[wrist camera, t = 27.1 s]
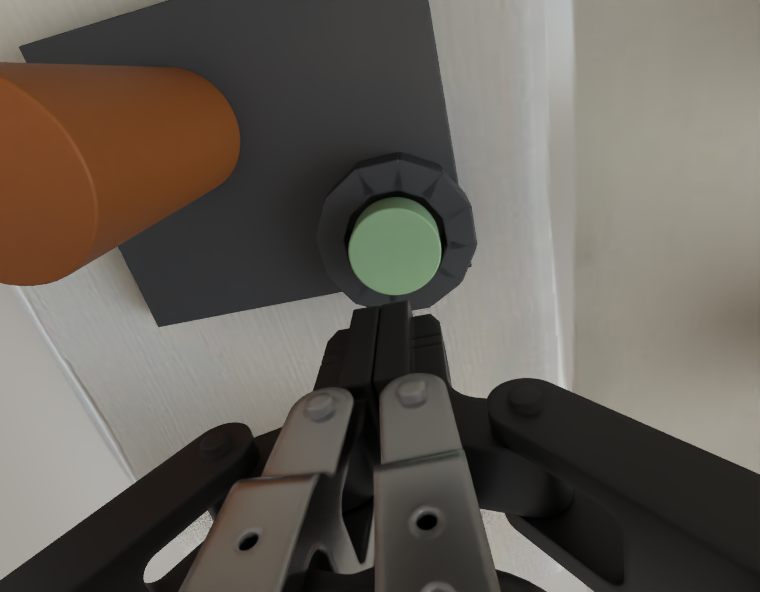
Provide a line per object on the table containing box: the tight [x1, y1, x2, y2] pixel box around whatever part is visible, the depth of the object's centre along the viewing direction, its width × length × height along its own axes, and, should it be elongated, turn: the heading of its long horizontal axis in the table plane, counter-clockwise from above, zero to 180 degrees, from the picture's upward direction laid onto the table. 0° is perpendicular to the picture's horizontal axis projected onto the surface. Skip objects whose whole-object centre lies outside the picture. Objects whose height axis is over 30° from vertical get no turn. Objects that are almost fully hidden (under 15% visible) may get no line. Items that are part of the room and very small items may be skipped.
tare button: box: [348, 197, 441, 295], centre depth 19 cm, size 4×4×2 cm
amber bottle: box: [0, 62, 240, 286], centre depth 15 cm, size 5×5×10 cm
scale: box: [19, 0, 477, 327], centre depth 20 cm, size 16×14×4 cm
